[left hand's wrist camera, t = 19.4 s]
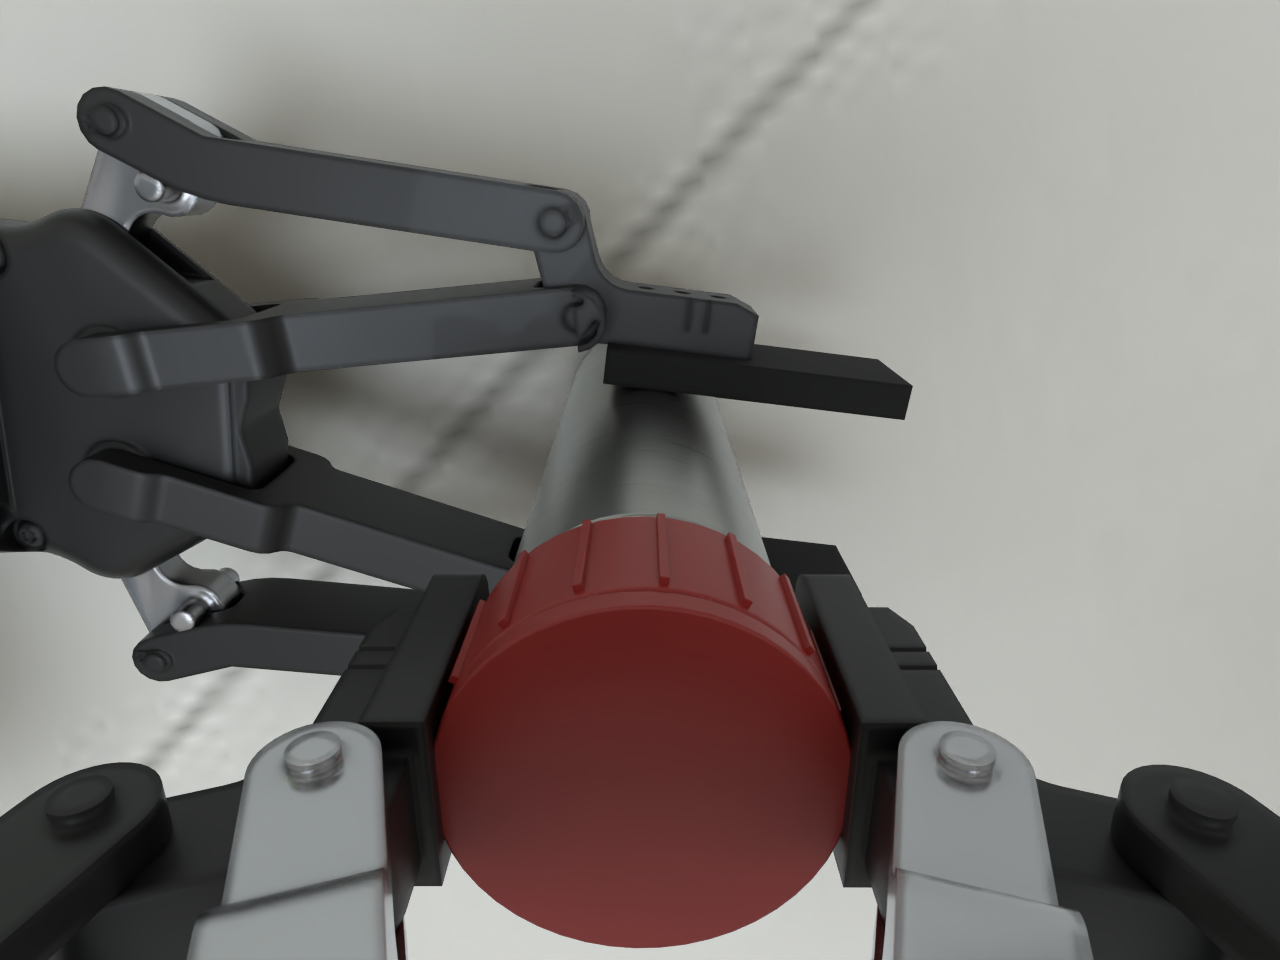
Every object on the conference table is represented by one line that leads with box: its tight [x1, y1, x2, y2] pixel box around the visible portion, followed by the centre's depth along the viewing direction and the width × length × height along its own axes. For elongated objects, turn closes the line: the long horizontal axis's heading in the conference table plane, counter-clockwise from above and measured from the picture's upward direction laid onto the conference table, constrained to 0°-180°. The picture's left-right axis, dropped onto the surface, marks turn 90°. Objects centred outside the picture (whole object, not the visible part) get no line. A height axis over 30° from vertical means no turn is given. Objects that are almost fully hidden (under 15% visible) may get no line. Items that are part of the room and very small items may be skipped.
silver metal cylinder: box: [512, 343, 771, 567], centre depth 17 cm, size 4×4×16 cm
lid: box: [434, 513, 851, 948], centre depth 10 cm, size 5×5×2 cm
